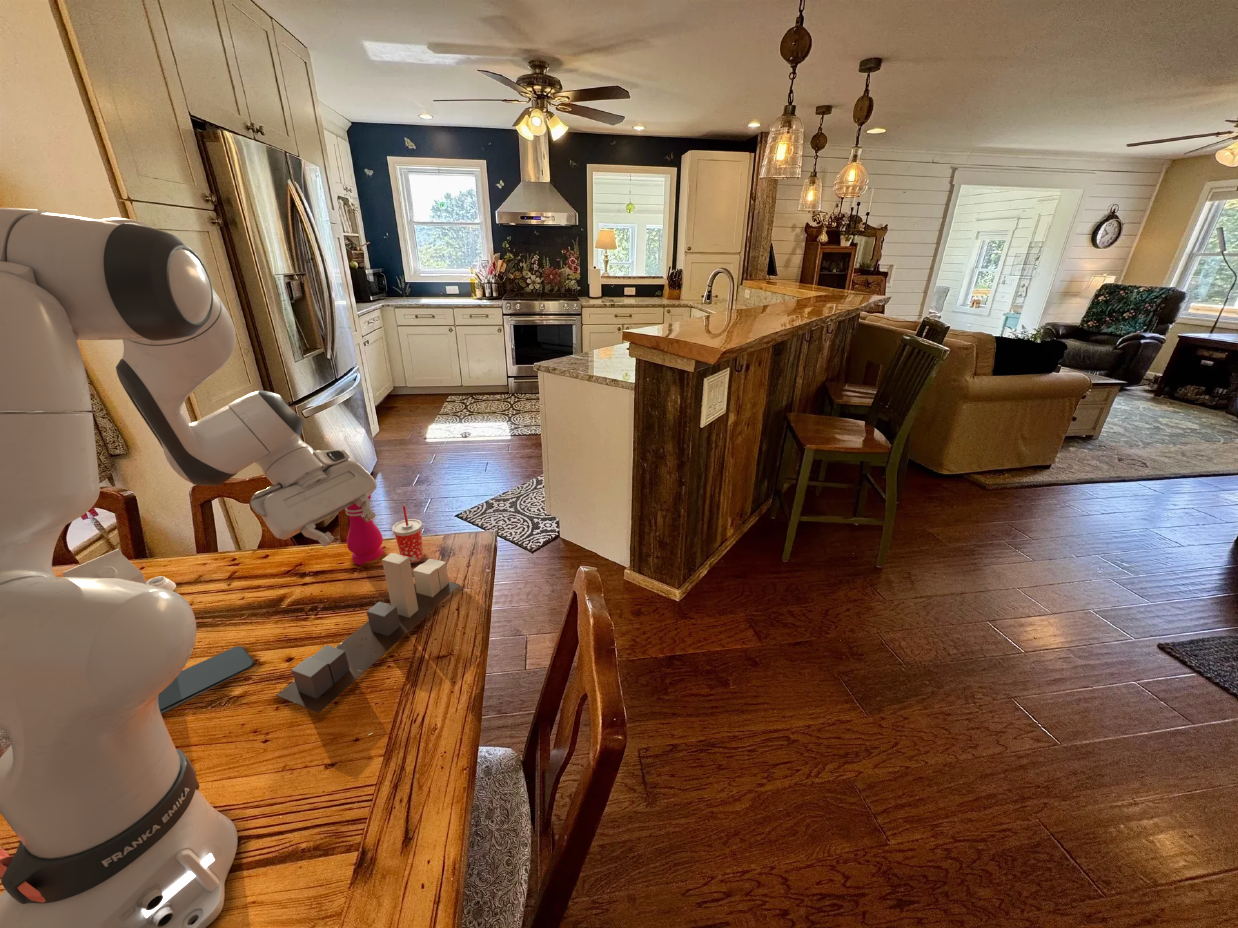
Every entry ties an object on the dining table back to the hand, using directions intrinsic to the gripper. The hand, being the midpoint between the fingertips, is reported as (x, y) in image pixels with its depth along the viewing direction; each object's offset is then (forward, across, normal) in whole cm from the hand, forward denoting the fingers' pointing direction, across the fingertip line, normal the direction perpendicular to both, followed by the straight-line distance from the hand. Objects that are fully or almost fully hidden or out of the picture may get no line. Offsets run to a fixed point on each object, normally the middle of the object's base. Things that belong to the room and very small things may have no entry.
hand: (351, 530), depth 91 cm
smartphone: (+5, -26, +19) cm, 32 cm away
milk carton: (-7, -25, +31) cm, 40 cm away
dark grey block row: (+18, -12, +4) cm, 22 cm away
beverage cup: (+10, +15, +14) cm, 23 cm away
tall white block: (+18, 0, +4) cm, 18 cm away
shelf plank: (+19, -6, +5) cm, 20 cm away
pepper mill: (+3, +12, +21) cm, 24 cm away
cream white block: (+18, +8, +4) cm, 20 cm away
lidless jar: (-17, -13, +41) cm, 46 cm away
